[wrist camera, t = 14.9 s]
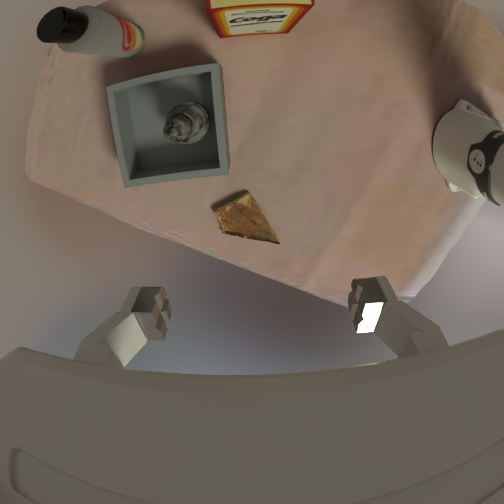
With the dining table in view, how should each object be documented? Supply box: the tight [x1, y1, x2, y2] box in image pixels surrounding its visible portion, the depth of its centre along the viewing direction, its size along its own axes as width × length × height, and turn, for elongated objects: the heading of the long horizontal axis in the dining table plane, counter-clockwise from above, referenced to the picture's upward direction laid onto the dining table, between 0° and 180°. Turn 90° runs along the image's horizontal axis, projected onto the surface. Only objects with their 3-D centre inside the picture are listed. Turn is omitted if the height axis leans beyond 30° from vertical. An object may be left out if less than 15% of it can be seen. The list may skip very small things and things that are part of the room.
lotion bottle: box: [37, 6, 145, 58], centre depth 19 cm, size 6×6×20 cm
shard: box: [214, 192, 280, 244], centre depth 46 cm, size 11×8×2 cm
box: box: [106, 63, 230, 188], centre depth 33 cm, size 15×15×6 cm
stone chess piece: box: [163, 102, 210, 144], centre depth 30 cm, size 6×6×12 cm
